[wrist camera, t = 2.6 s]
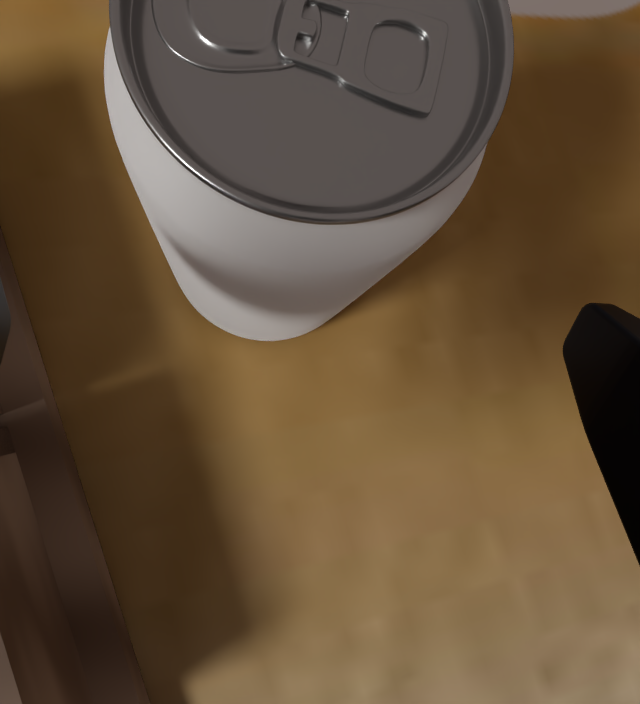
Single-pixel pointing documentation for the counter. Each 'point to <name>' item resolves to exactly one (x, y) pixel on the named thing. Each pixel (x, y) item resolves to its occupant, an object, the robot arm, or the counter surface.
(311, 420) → the counter surface
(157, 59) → the can
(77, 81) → the counter surface
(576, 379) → the robot arm
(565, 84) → the counter surface
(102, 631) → the box
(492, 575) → the counter surface
